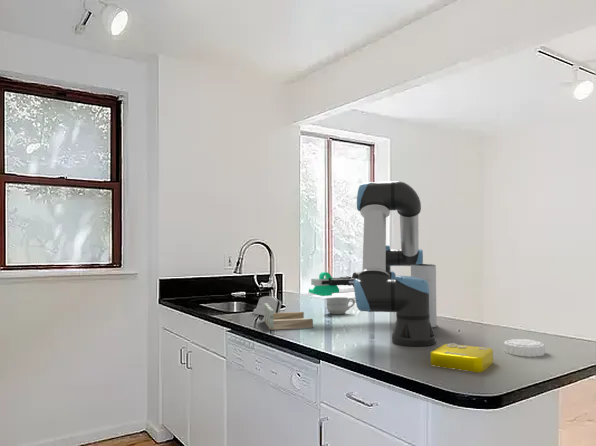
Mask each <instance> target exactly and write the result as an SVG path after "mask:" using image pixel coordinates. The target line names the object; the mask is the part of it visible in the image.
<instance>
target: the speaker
mask: <svg viewBox="0 0 596 446" xmlns="http://www.w3.org/2000/svg"><path fill="white" fill-rule="evenodd" d="M410 276H411V277H418V278H422V279H425V280H427V281H428V284H429V292H430V294H429V310H430V323H431V326H432V328H436V327H437V326H438V325H437V324H438V323H437V322H438V320H437V319H438V318H437V265H436V264H433V263H432V264H431V263H430V264H429V263H428V264H426V263H423V264H415V265H411V266H410Z"/></svg>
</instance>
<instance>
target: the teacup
mask: <svg viewBox="0 0 596 446" xmlns="http://www.w3.org/2000/svg"><path fill="white" fill-rule="evenodd" d="M325 299H326V309H327V312H329V313H330V314H331V315H343V314H345V313H346V312H347V311H349V310H350V309H351V308H352V307H354V305H356V299H355V298H353V297H350V298H349V297H345V296H342V297H341V296H339V297H338V296H334V297H326V298H325ZM350 301H352V304H351V305H349V303H350Z"/></svg>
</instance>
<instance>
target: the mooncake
mask: <svg viewBox="0 0 596 446" xmlns="http://www.w3.org/2000/svg"><path fill="white" fill-rule="evenodd" d="M503 345H504V346H503V348H504V352H505V353H506V354H509V355H513V356H519V357H528V358H529V357H541V356H542V357H543V356H544V355H546V345H545V344H544V342H543V343H542V342H541V341H538V340H533V339H528V338H513V339H509V340H505V341H504V342H503Z"/></svg>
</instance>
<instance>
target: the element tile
mask: <svg viewBox="0 0 596 446" xmlns="http://www.w3.org/2000/svg"><path fill="white" fill-rule="evenodd" d="M429 354H430V355H429V356H430V359H429V360H430V361H429V362H430V366H431V365H435V366H440V367H446V368H445V369H447V368H455V369H461V370H460V371H462V370H467V371H466V372H469V371H473V372H472V373H483V372H485V370H486V371H487V369H488V368H489V367H490V366H491V365H493V364H494V351H493V348H490V347H483V346H473V345H464V344H458V343H445V344H441V345H440V346H439V347H436V348H435V349H433V350H431V351H430V352H429ZM440 367H439V368H440Z"/></svg>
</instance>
